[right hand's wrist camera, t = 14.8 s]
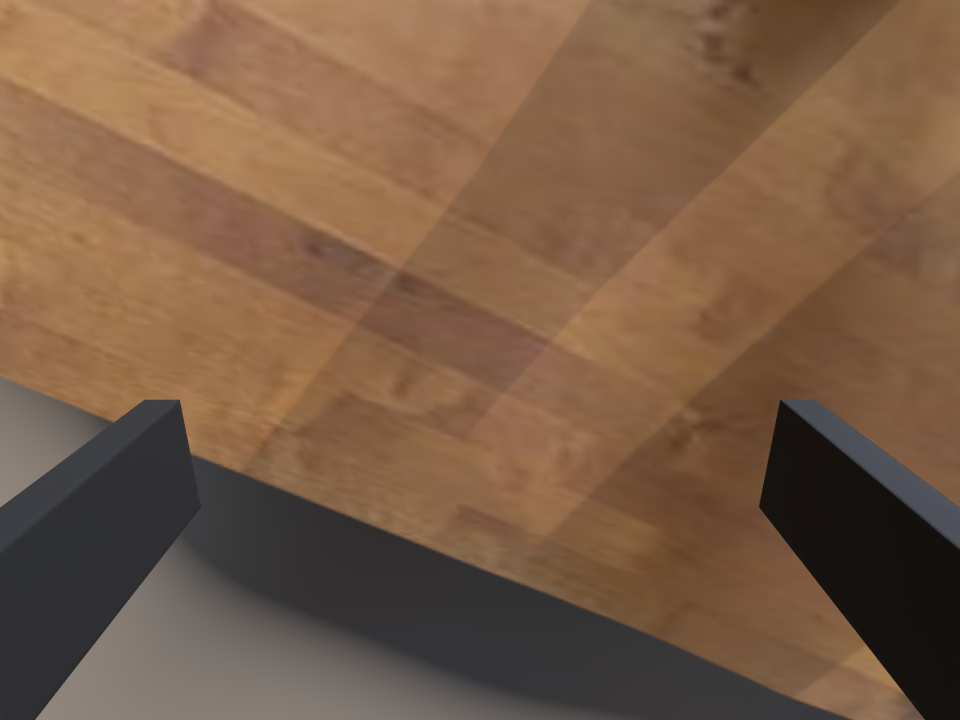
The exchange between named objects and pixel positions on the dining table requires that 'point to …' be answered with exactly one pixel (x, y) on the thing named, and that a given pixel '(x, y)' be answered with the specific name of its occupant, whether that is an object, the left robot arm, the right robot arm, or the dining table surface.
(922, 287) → the dining table surface
